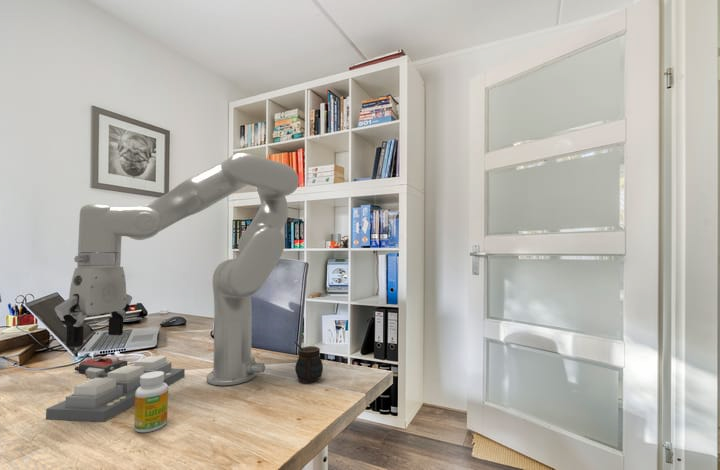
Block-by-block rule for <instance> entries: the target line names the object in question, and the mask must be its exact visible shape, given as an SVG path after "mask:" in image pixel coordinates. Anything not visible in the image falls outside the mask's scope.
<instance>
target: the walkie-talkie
mask: <svg viewBox="0 0 720 470" xmlns="http://www.w3.org/2000/svg"><path fill="white" fill-rule="evenodd" d="M123 366H128V360H121V359H119V357H118V356H116V355H115V356H114V355H106V356H102V355H99V356H96V357H93V358H90V359H86V360H83V361H81V362H79V364H78V366H75V367H74V370H75V371H77V372H78V373H79V374H85V375H86V378H89V379H94V378H107V373H109V372H111V371H113V370H116V369H118V368H121V367H123Z"/></svg>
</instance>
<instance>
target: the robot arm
mask: <svg viewBox="0 0 720 470" xmlns="http://www.w3.org/2000/svg"><path fill="white" fill-rule="evenodd" d="M299 183H300V179H299V175H298V173H297V171H296V170H295V169H294V168H293V167H291V166H290V165H288V164H286V163H282V162H280V161H276V160H272V159H270V158H266V157H263V156H259V155H256V154H254V153H248V152H236V153H233V155H231V156H230V157H228V158H227V159H225V160H224V161H221V162H220V163H218V164H216V165H214V166H212V167H210V168H208V169H206V170H204V171H201V172H200V173H197V174H196V175H193V176H191V177H189V178H187V179H185V180H183V181H182V182H181V183H179V184H178V185H176V186H175V187H174V188H173V189H171V190H170V191H168V192H166V193H165V194H163V195H162V196H160V197H158V198H156V199H155V200H152V201H150V202H149V203H147V204H145V205H134V206H133V205H131V206H115V205H109V204H108V205H107V204H96V203H95V204H94V203H93V204H91V203H90V204H85V205H83V206H82V207H80V210H79V222H78V240H77V241H78V246H77V255H76V256H75V257H74V262H75V263H77V264H76V265H77V266H76V267H75V268H74V271H73V274H72V278H71V282H70V288H69V294H68V295H69V296H68V299H67V298H66V300H64V301H63V302H61V303H59V304H58V305H56V306H55V307H54V311H55V314H56V316H57V317H58V320H59V321H60V322H61V323H62V324H63V327H64V328H65V327H66V342H65V345H66V346H67V347H71V348H73V347H74V348H75V347H76V348H79V347H82V346H83V344H84V332H85V331H84V326H83V325H82V323H84V321H85V319H86V318H87V316H97V315H104V314H109V315H111V316H110V317H109V319H108V329H107V330H108V332H107V334H108V335H109V336H122V335H123V333H124V318H125V317H126V315H127V312H128V310H129V309H130V304H131V302H132V300H133V296H132V295H130V294H127V283H126V274H125V270H124V267H123V266H121V264H122V263H121V262H122V261H121V259H122V237H128V238H130V239H132V240H135V241H143V240H147V239H150V238H153V237H154V236H156V235H157V234H158V233H159V232H162V231H163V230H165V229H167V228H168V227H170V226H173V225H174V224H176V223H178V222H179V221H182V220H184V219H185V218H187V217H190V216H193V215H195V214H197V213H200V212H202V211H204V210H206V209H208V208H210V207H211V206H214V205H215V204H217V203H219V202H220V201H222V200H224V199H225V198H227V197H229V196H231V195H233V194H234V193H236V192H238V191H240V190H241V189H243V188H245V187H246V186H251V187H255V188H256V190H257V191H256V192H257V194H258V197H259V199H260V207H259V209H258V211H257V213H256V214H255V216H254V217H253V219H252V220H251V222H250V223H249V225H248V226H247V228H246V229H245V230H244V232H243V233H242V235H241V236H240V238H239V239H238V244H237V248H238V252H239V255H238V256H237V258H229V259H226V260H223V261H222V262H221V263H219V264H218V266H216V267H215V270H214V272H213V273H212V274H213V275H212V291H213V292H212V293H213V304H214V307H213V309H214V311H213V313H214V318H213V319H214V320H213V367H212V368H213V369H212V370H213V371H210V372H209V373H208V374H207V375H206V381H207V383H208V384H210V385H213V386H233V385H238V384H242V383H246V382H249V381H251V380H253V379H255V378H256V376H257V375H258V373H260V374H261V373H262V374H264V372H265V370H266V366H265V362H256V357H255V356H252V327H253V326H252V323H253V322H252V317H253V310H252V309H253V307H252V296H253V295H255V294H256V293H258V292H259V291H260V290H261V288H262V287H264V285H265V283H266V282H267V280H268V278H269V277H270V275H271V274H272V273H273V270H274V269H275V267H276V266H277V264H278V262H279V260H280V259H281V257H282V255H283V253H284V250H285V245H286V244H285V243H286V241H285V237H284V234H283V232H282V231H283V228H284V227H285V225H286V223H287V221H288V217H289V206H288V201H287V199H286V197H287V196H289V195H291V194H293V193H294V192H295V191H296V190H297V189H298V188H299Z"/></svg>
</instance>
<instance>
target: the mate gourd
mask: <svg viewBox="0 0 720 470" xmlns="http://www.w3.org/2000/svg"><path fill="white" fill-rule="evenodd" d="M293 342H294V344H296V346H297V347H298V358H297V361H296V363H295V368H294V370H295V374H296V378H297V379H298V380H299V381H300V382H302V383H306V384H310V383H315V382H317V381H318V380H319V379H320V378H321V376H322V373H323V370H324V364H323V362H322V359H321V356H320V352H321V349H320V347H318V346H315V345H313V346H311V345H310V346H303V347H301V346H300V344H298V343H297V341H293Z"/></svg>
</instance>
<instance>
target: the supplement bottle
mask: <svg viewBox="0 0 720 470" xmlns="http://www.w3.org/2000/svg"><path fill="white" fill-rule="evenodd" d="M163 381H164V372H162V371H154V372H148V373H145V374H143V375H141V376H140V385H141V386H140V387H139V388H138V389H137V390H136V393H135V405H134V425H133V426H134V427H133V428H134V430H135V432H137V433H149V432H150V433H151V432H153V431H157V430H160V429H161V428H163V427H164V426H165V425H167V423H168V403H169V402H168V399H169V398H168V397H169V395H168V394H169V385H167V384H166V383H164V382H163Z"/></svg>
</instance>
